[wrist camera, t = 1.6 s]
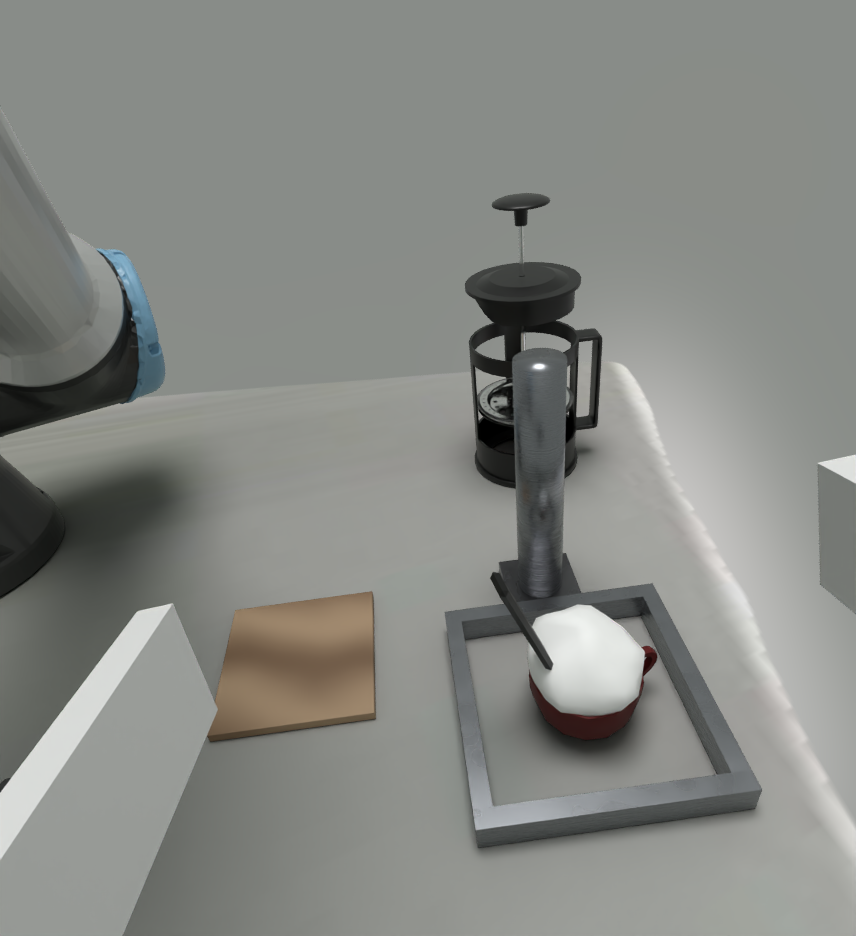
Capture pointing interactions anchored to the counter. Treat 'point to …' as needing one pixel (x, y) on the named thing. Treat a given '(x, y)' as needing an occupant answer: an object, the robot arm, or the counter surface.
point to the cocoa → (581, 667)
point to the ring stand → (554, 589)
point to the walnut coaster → (297, 667)
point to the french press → (515, 312)
